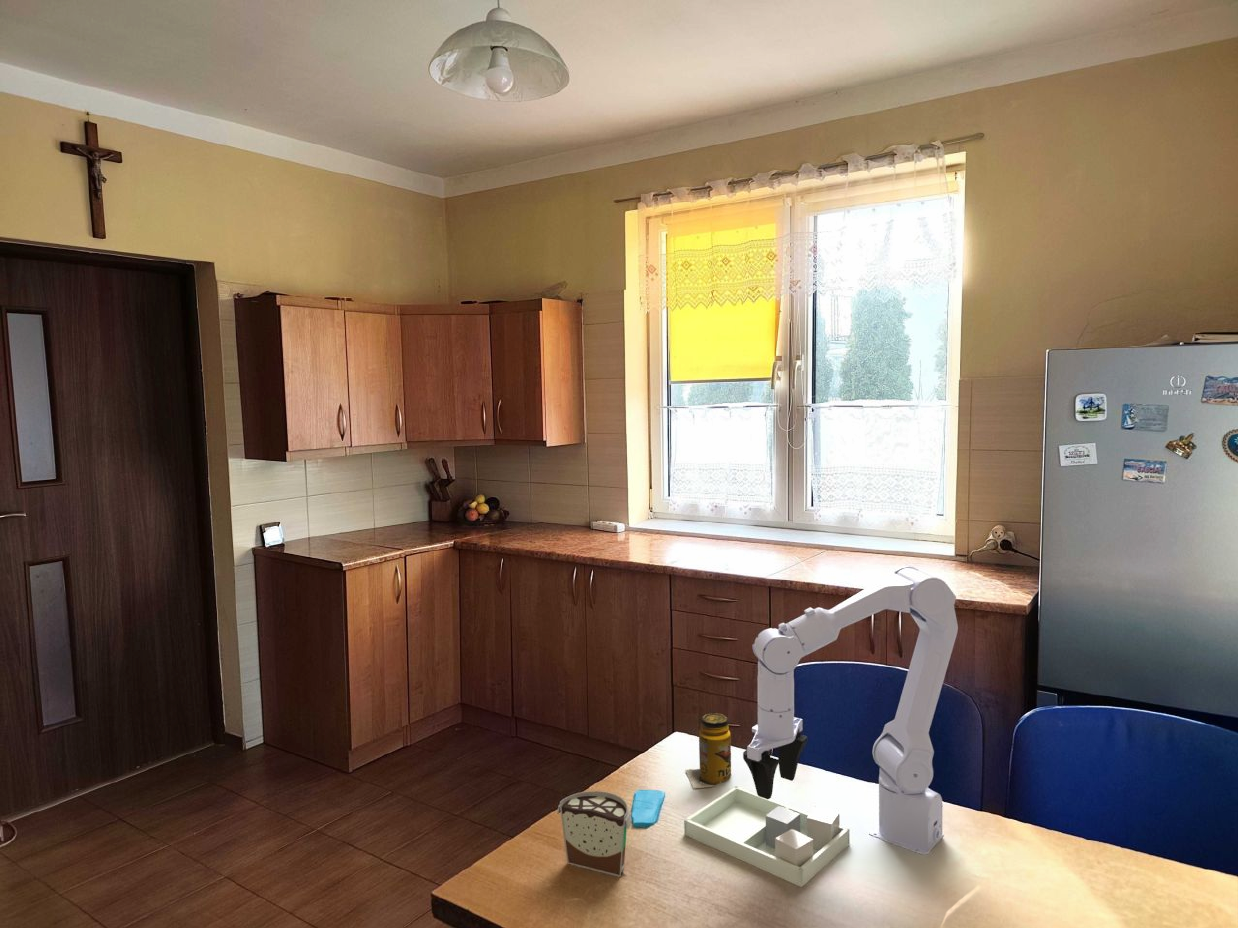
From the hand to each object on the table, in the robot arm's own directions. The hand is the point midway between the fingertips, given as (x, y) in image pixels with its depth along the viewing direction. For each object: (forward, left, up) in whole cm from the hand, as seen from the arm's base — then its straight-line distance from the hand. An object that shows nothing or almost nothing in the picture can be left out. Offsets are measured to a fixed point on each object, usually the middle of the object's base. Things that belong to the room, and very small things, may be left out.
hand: (776, 787), depth 128 cm
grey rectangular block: (-1, -1, -9) cm, 9 cm away
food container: (+19, +21, -10) cm, 30 cm away
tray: (+2, 0, -10) cm, 10 cm away
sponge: (+24, +5, -11) cm, 27 cm away
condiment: (+22, -12, -10) cm, 27 cm away
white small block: (-6, -5, -9) cm, 12 cm away
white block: (-6, +4, -9) cm, 12 cm away
